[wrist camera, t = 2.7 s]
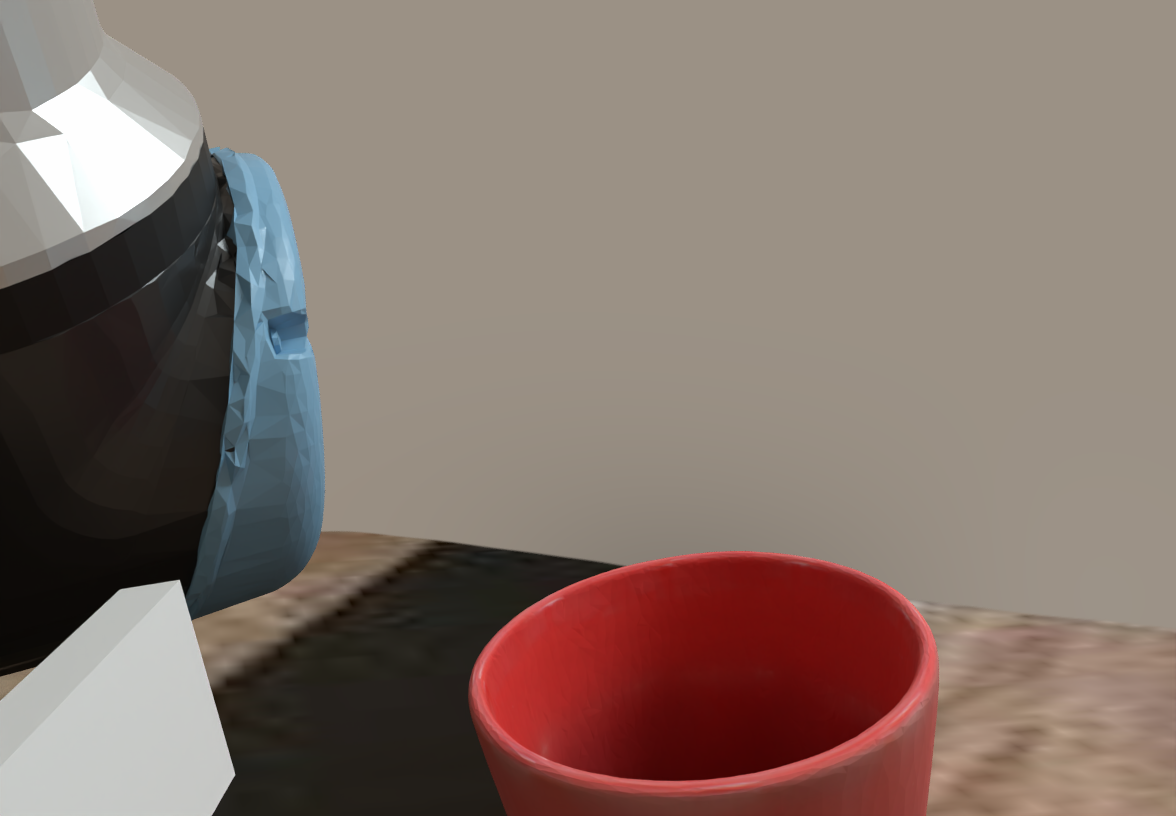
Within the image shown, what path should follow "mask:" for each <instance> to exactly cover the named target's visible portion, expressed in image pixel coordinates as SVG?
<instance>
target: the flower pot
mask: <svg viewBox="0 0 1176 816" xmlns="http://www.w3.org/2000/svg"><path fill="white" fill-rule="evenodd" d="M938 690H939V660H938V653H937V647H936V642H935V640H934V637H933V634H932V632H931V629H930V627H929V626H928V624H927V623H926V621H925V620H924V618H923V616H922V615H921V614H920V613H919V611H918V610H917V609H916V608H915V607H914V605H913V604H912V603H910V602H909V601H908V600H907V599H906V598H905V597H904V596H903V595H902V594H900V593H899V592H898V591H896V590H895V589H893V588H892V587H890V586H888V585H887V584H885V583H883V582H881V581H880V580H878V579H876V578H874V577H871V576H869V575H867V574H865V573H862V572H860V571H857V570H854V569H851V568H848V567H845V566H841V565H838V564H835V563H831V562H827V561H823V560H818V559H814V558H807V557H801V556H795V555H788V554H779V553H763V552H750V551H728V552H707V553H698V554H689V555H682V556H675V557H668V558H663V559H658V560H652V561H646V562H642V563H637V564H633V565H629V566H625V567H621V568H618V569H614V570H611V571H608V572H605V573H602V574H599V575H596V576H593V577H590V578H588V579H585V580H582V581H579V582H577V583H575V584H572V585H570V586H568V587H566V588H563V589H561V590H559V591H557V592H555V593H553V594H551V595H549V596H547V597H546V598H544V599H542V600H541V601H539V602H537V603H536V604H534V605H532V606H531V607H529V608H527V609H526V610H524V611H523V612H521V613H520V614H519V615H517V616H516V617H515V618H514V619H512V620H511V621H510V622H509V623H508V624H507V625H505V626H504V627H503V628H502V629H501V630H500V631H499V632H498V633H497V634H496V635H495V636H494V637H493V638H492V639H491V640H490V642H489V643H488V644H487V645H486V646H485V648H484V649H483V651H482V652H481V654H480V655H479V657H478V658H477V660H476V663H475V665H474V667H473V670H472V673H471V678H470V682H469V694H468V699H469V708H470V713H471V717H472V720H473V723H474V726H475V729H476V732H477V735H478V738H479V741H480V744H481V746H482V749H483V752H484V755H485V758H486V761H487V764H488V766H489V769H490V771H491V774H492V777H493V779H494V782H495V784H496V787H497V790H498V792H499V795H500V797H501V800H502V803H503V805H504V808H505V810H506V813H507V816H926V810H927V801H928V792H929V783H930V775H931V766H932V756H933V746H934V737H935V727H936V717H937V704H938Z"/></svg>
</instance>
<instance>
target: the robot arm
mask: <svg viewBox="0 0 1176 816" xmlns="http://www.w3.org/2000/svg"><path fill="white" fill-rule="evenodd" d="M219 149H220V147H216V148H212V149H209V148H208V144H207V140H206V136H205V132H204V128H203V124H202V119H201V116H200V112H199V110H198V107H197V104H196V101H195V99H194V97H193V96H192V94H191V93H190V92H189V91H188V90H187V88H186V87H185V86H184V84H183V83H182V82H180V81H179V80H178V79H177V78H176V77H174V76H173V75H172V74H170V73H169V72H167V71H166V70H164V69H162V68H161V67H159V66H157V65H155V64H154V63H152V62H151V61H149V60H147V59H146V58H144V57H143V56H141V55H140V54H138V53H136V52H135V51H133V50H131V49H130V48H128V47H126V46H125V45H123V44H122V43H120V42H118V41H117V40H115V39H113V38H112V37H110V36H109V35H107V34H105V32H104V31H103V29H102V28H101V26H100V23H99V19H98V16H97V13H96V9H95V6H94V3H93V0H0V676H4V675H8V674H11V673H15V672H19V671H23V670H26V669H30V668H34V667H36V668H35V669H34V670H33V671H32V672H31V673H30V674H29V675H28V676H27V677H25V678H24V679H23V680H22V681H21V682H20V683H19V684H18V685H17V686H16V687H15V688H14V689H13V690H11V691H10V692H9V693H8V694H7V695H6V696H5V697H4V698H3V699H2V700H1V701H0V816H212V814H213V812H214V811H215V809H216V807H217V805H218V804H219V802H220V800H221V798H222V797H223V795H224V793H225V791H226V790H227V788H228V786H229V784H230V783H231V781H232V779H233V777H234V776H235V772H234V769H233V765H232V762H231V758H230V755H229V751H228V748H227V744H226V741H225V737H224V734H223V730H222V727H221V723H220V719H219V716H218V712H217V709H216V705H215V702H214V698H213V695H212V691H211V688H210V684H209V681H208V677H207V674H206V670H205V667H204V663H203V660H202V656H201V653H200V649H199V646H198V642H197V639H196V635H195V632H194V628H193V625H192V620H193V619H196V618H199V617H202V616H205V615H208V614H210V613H213V612H216V611H219V610H222V609H225V608H228V607H230V606H233V605H236V604H239V603H242V602H245V601H248V600H250V599H253V598H256V597H259V596H262V595H265V594H268V593H270V592H273V591H275V590H277V589H279V588H281V587H282V586H284V585H285V584H287V583H289V582H290V581H291V580H292V579H293V578H295V577H296V576H297V575H298V574H299V573H300V572H301V571H302V570H303V569H304V567H305V566H306V564H307V563H308V561H309V560H310V558H311V556H312V554H313V552H314V550H315V548H316V545H317V543H318V540H319V536H320V532H321V527H322V521H323V511H324V493H325V472H324V471H325V469H324V445H323V430H322V416H321V405H320V393H319V386H318V379H317V371H316V364H315V357H314V354H313V350H312V347H311V344H310V342H309V340H308V338H307V332H308V328H309V327H308V318H307V314H306V300H305V285H304V279H303V274H302V268H301V263H300V258H299V253H298V249H297V244H296V239H295V235H294V230H293V226H292V222H291V218H290V214H289V211H288V208H287V204H286V201H285V198H284V195H283V192H282V190H281V187H280V185H279V183H278V181H277V178H276V175H275V173H274V171H273V169H272V168H271V167H270V166H269V165H268V164H267V163H266V162H265V161H264V160H263V159H262V158H260V157H258V156H256V155H255V154H248V153H235V152H234V151H232V150H230V149H229V148H225V149H222V150H219Z"/></svg>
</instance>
